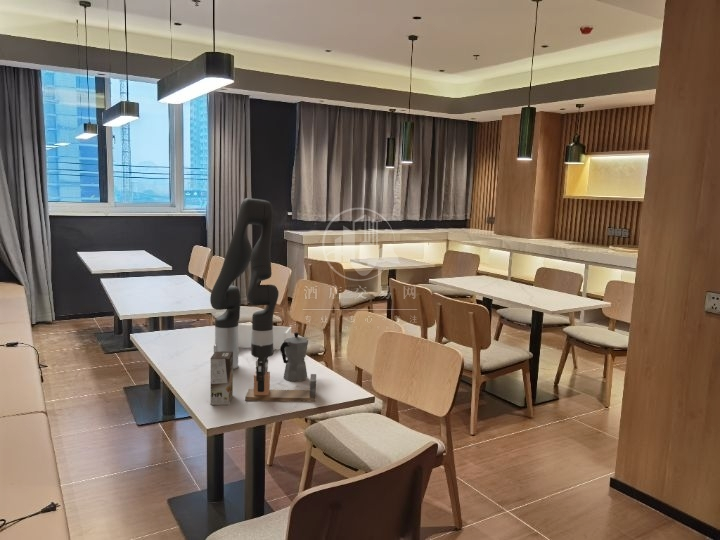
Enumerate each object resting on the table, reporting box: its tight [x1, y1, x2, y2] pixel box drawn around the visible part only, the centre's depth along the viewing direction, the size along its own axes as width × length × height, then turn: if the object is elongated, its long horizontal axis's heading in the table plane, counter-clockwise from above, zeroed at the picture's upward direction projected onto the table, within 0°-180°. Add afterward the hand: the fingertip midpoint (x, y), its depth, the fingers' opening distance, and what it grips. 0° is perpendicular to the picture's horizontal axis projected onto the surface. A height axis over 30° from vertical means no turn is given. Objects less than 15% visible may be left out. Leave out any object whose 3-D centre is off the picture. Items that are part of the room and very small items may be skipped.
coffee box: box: [209, 351, 234, 406], centre depth 197 cm, size 9×6×16 cm
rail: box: [245, 373, 317, 402], centre depth 202 cm, size 24×8×7 cm, turn 93°
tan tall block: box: [253, 371, 271, 395], centre depth 202 cm, size 5×4×7 cm
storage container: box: [238, 323, 292, 355], centre depth 257 cm, size 25×11×11 cm, turn 85°
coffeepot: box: [279, 332, 309, 382], centre depth 222 cm, size 15×9×18 cm, turn 147°
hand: (261, 388), depth 202 cm, fingers closed on tan tall block, 4 cm apart
